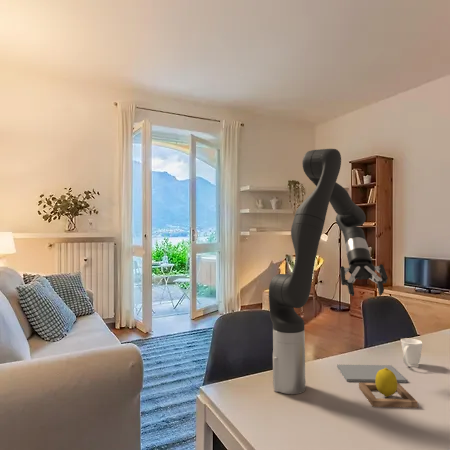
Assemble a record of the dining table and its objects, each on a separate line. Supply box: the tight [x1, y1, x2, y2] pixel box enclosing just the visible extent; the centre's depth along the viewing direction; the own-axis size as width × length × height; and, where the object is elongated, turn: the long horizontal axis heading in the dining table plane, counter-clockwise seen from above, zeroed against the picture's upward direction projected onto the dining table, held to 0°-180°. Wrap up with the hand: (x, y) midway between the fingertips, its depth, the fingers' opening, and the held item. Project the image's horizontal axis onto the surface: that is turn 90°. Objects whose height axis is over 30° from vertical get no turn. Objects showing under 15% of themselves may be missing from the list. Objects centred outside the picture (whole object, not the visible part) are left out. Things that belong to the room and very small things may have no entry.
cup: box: [400, 337, 423, 368], centre depth 121 cm, size 7×10×8 cm
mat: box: [336, 364, 408, 383], centre depth 114 cm, size 18×12×1 cm, turn 86°
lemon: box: [374, 368, 398, 398], centre depth 98 cm, size 6×6×8 cm
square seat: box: [358, 382, 419, 409], centre depth 98 cm, size 11×11×2 cm
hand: (367, 294), depth 114 cm, fingers open, 8 cm apart
